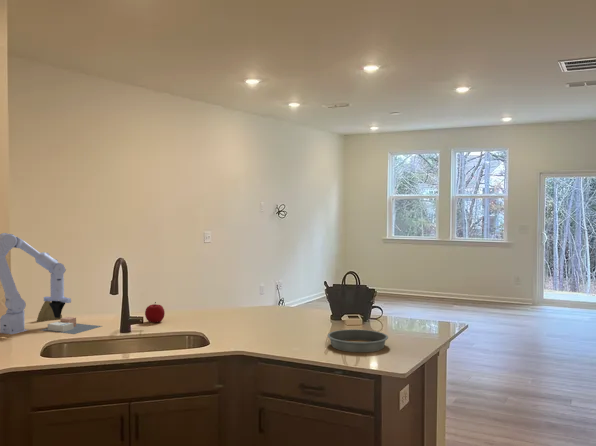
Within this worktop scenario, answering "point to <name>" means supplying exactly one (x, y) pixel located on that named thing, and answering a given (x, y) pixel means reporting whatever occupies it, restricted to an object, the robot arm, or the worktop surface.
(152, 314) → the apple
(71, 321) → the stub
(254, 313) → the worktop surface
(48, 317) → the rock
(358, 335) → the cake pan
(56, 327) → the white flat block
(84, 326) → the mat
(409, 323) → the worktop surface
